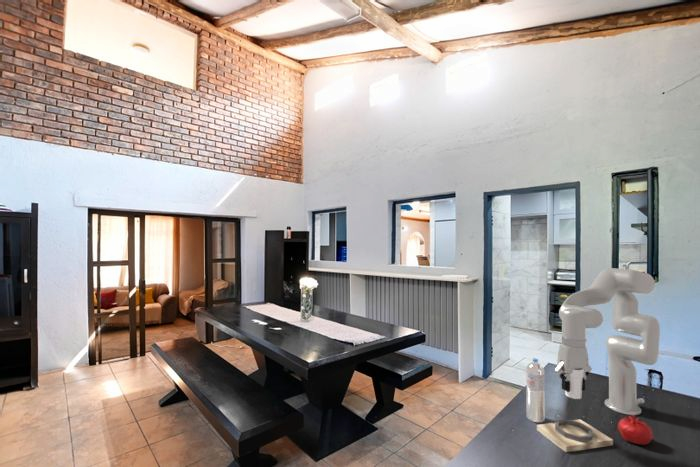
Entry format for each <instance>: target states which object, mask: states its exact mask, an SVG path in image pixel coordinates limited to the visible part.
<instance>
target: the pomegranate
mask: <svg viewBox="0 0 700 467" xmlns="http://www.w3.org/2000/svg"><path fill="white" fill-rule="evenodd" d="M639 419H641V417H636V415H628V417H622V419H619V421H618V423H617V429H618V431H619V433H620V435H621V437H622V438H623V439H624V440H625V441H626V442H628V443H631V444H636V445H642V446H646V445H648V444H650V443H651V441H652V440H653V437H654V432H653V428H651V427H650V425H648V423H647V422H646V421H642V420H641V421H640V420H639Z"/></svg>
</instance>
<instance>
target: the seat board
mask: <svg viewBox="0 0 700 467" xmlns="http://www.w3.org/2000/svg"><path fill="white" fill-rule="evenodd" d="M536 431H537V432H539V433H540V434H541V435H543V436H544V437H545V438H547V439H548V440H549V441H551V442H552V443H553V444H554V445H555V446H557V447H558V448H560V450H562V451H563V452H565V453H570V452H577V451H585V450H591V449H597V448H598V449H599V448H604V447H610V446H614V439H613V438H611V437H609V436H607V435H606V434H605V433H603V432H601V431H600V430H598V429H596V428H595V427H593V426H592V425H591V424H588V423H587V422H585V421H583V420H582V419H580V418H579V419H573V420H572V419H566V418H565V419H558V420H555V422H547V423H539V424H537V425H536Z"/></svg>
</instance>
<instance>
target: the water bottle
mask: <svg viewBox="0 0 700 467" xmlns="http://www.w3.org/2000/svg"><path fill="white" fill-rule="evenodd" d="M525 371H526V378H525V379H526V381H525V382H526V385H525V386H526V387H525V390H526V391H525V395H526V396H525V401H526V402H525V403H526V404H525V405H526V406H525V407H526V409H525V413H526V418H527V419H528V420H529V421H530V422H533V423H536V424H543V423H544V422H545V420H546V419H545V418H546V412H545V411H546V398H545V397H546V392H545V391H546V390H545V372H546V371H545V369H544V367H543V366H542V365H541V364H540V363H539V359H538V358H532V362H530V363H529V364H528V365H527V366H526V367H525Z"/></svg>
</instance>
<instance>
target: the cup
mask: <svg viewBox="0 0 700 467" xmlns="http://www.w3.org/2000/svg"><path fill="white" fill-rule="evenodd" d="M564 371H565V369H564ZM583 373H584V369H582V370H573V372H572V374H570V377H569V380H568V381H570V392H567V391H565V390H564V395H565V396H566V397H568V398H570V399H574V400H581V399H582V394H583V390H582V380H583ZM565 377H566V373H565Z"/></svg>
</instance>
